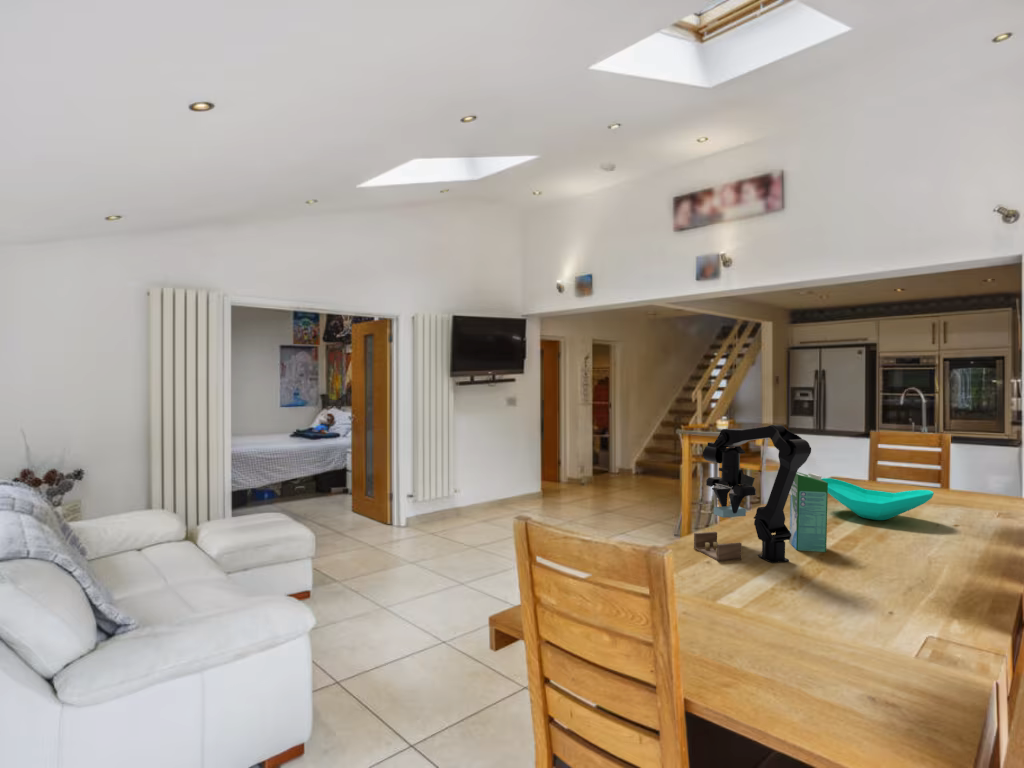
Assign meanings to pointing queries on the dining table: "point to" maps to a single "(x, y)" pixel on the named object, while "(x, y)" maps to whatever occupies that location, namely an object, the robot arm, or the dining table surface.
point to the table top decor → (876, 500)
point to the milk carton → (808, 512)
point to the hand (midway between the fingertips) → (729, 511)
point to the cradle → (716, 547)
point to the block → (729, 511)
